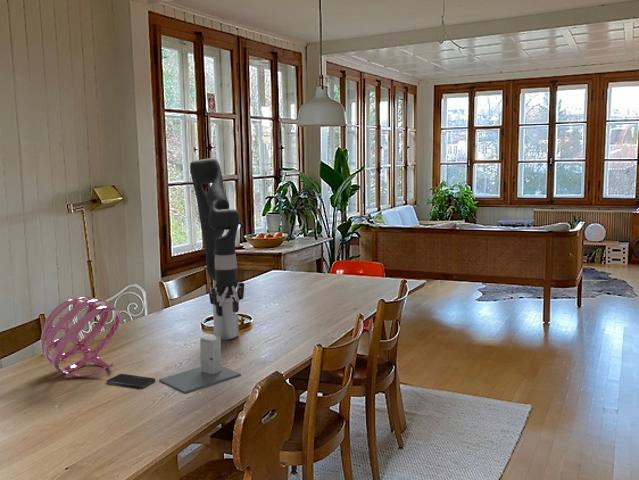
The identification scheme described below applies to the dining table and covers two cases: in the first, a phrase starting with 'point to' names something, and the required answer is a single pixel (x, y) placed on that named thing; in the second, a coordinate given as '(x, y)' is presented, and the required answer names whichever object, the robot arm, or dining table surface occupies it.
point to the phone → (131, 381)
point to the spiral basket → (72, 333)
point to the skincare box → (210, 354)
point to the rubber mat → (197, 379)
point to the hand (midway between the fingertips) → (227, 313)
